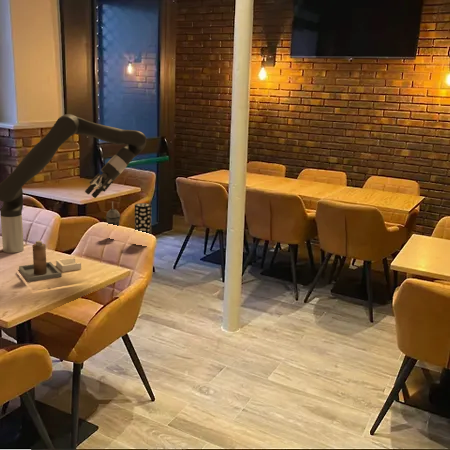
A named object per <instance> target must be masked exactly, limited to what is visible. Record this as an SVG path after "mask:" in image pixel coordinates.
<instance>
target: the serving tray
mask: <svg viewBox="0 0 450 450" xmlns="http://www.w3.org/2000/svg"><path fill="white" fill-rule="evenodd" d="M46 267H47V273H46V274H43V275H35V274H34V265H33V264H32V263H31V264H26V265H25V264H24V265H20V266H18V270H19V272H20V274H22V276H23V279H24V280H26V281H27V282H28V283H29V282H36V281H41V280H48V279H54V278H61V277H62V276H63V274H62V271H61V270H60V269H59V268H58V267H57V266H55V265H54V264H53V263H52V262H51V261H46Z"/></svg>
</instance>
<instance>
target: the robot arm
mask: <svg viewBox="0 0 450 450" xmlns="http://www.w3.org/2000/svg"><path fill="white" fill-rule="evenodd" d="M75 134H77V135H84V136H85V135H86V136H89V137H93V138H95V139H97V140H100V141H103V142H106V143H110V144H114V145H119V146H120V145H121V146H122V145H125V146H122V147H121V148H120V149H119V150H118V151H117V152H116V153H115V154H114V155H113V156H112V157H111V158H110V159H109V160H108V161H107V162H106V164H105V165H104V166H102V168H101V170H100V171H101V174H100V173H97V174H96V175H95V176H94V177H93V178H92V179H91V180H90V181H89V186H88V187H87V188H86V189H85V190H84V193H86V194H87V195H90V194H91V196H92V198H94V199H96V198H97V197H98V196H99V195H100V194H101V193H103V192H104V193H105V192H106V191H107V189H108V188H109V187H111V185H112V184H113V182H114V181H116V179H117V178H118V177H119V176H120V175H121V174H122V173H123V171H125V169H126V168H127V167H128V165H129V164H130V163H131V162H132V161H133V159H135V157H137V156H138V155H139V154H140V153H141V152H142V151H143V150H144V149H145V148H146V145H147V137H146V135H145V133H143V132H142V131H139V130H134V129H133V130H132V129H123V128H117V127H114V126H109V125H104V124H100V123H97V122H96V123H95V122H93V121H89V120H87V119H84V118H82V117H79V116H76V115H74V114H72V113H66V114H64V115H61V116H59V117H58V119H57V120H56V121H55V123H54V124H53V125H52V127H51V129H50V130H49V131H48V133H47V134H46V135H45V136H44V137H43V138H42V139H40V141H38V142H37V143H36V144H35V145H34V146H33V147H32V148H31V150H29V152H28V153H27V154H26V155H25V156H24V158H23V159H21V161H20V162H19V164H18V165H17V166H16V167H15V168H14V170H13V171H12V172H11V173H10V174H9V175H8V176H7V177H6V178H4V180H2V181H1V182H0V201H1V202H3V203H2V206H1V208H0V226H1V242H2V243H1V244H2V251H3V252H4V253H8V254H13V253H20V252H23V251H24V250H25V248H24V247H25V245H24V230H23V229H24V227H23V213H22V212H23V208H24V191H23V187H24V186H25V184H27V182H29V181H30V180H31V179H33V178H34V177H36V176H37V175H38V174H39V173H41V172H42V171H43V170H44V169H45V167H46V166H47V165H48V164H49V163H50V162H51V161H52V159H53V158H54V156H55V155H56V153H57V151H58V149H59V148H60V147H61V146H62V145H63V144H64V143H66V141H67V140H69V139H70V138H71V137H72V136H74V135H75ZM95 188H96V189H95ZM94 189H95V190H94Z"/></svg>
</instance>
